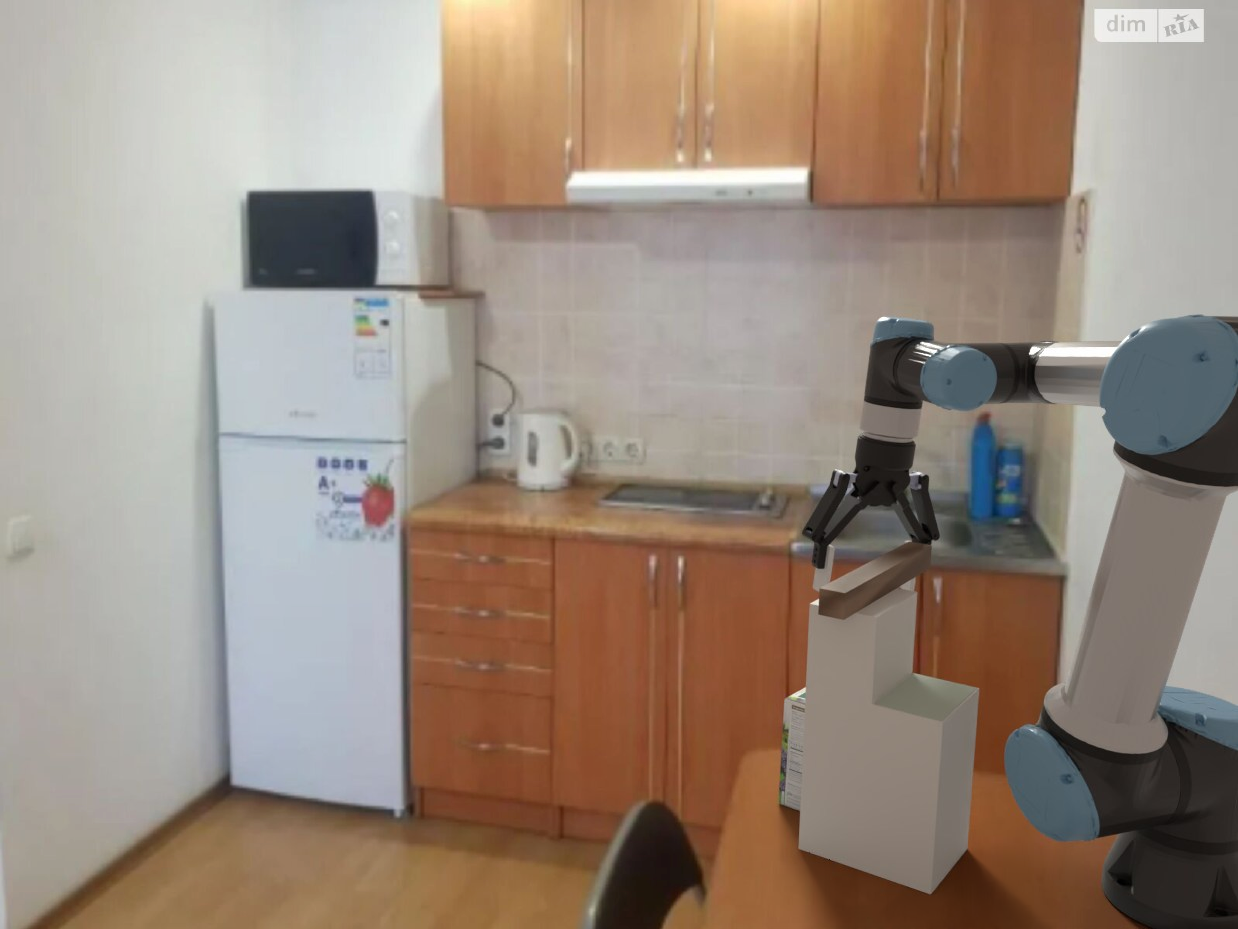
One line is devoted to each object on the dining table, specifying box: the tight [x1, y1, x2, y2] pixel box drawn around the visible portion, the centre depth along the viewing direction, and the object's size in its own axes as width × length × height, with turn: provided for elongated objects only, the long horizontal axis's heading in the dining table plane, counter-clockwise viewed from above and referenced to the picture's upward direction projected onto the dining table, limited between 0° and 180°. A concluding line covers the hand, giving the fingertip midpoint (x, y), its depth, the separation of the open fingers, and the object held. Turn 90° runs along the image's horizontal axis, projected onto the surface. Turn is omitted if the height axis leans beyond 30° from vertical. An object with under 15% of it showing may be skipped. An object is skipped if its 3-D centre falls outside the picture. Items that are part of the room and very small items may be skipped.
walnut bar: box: [818, 541, 933, 620], centre depth 131 cm, size 3×26×3 cm, turn 144°
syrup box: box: [778, 686, 806, 812], centre depth 141 cm, size 6×6×14 cm
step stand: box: [798, 587, 980, 895], centre depth 129 cm, size 16×12×30 cm
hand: (863, 590), depth 150 cm, fingers open, 13 cm apart
